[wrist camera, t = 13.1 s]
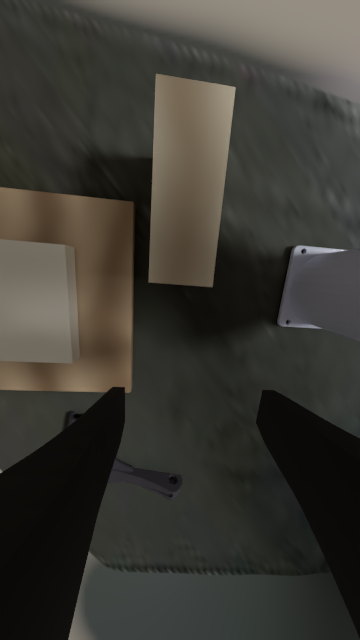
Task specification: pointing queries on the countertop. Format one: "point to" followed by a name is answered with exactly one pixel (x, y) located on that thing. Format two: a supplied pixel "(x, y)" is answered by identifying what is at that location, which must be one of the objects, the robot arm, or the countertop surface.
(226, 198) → the countertop surface
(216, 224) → the tan mottled block
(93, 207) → the cork mat
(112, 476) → the bracket
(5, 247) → the tile
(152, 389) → the countertop surface
